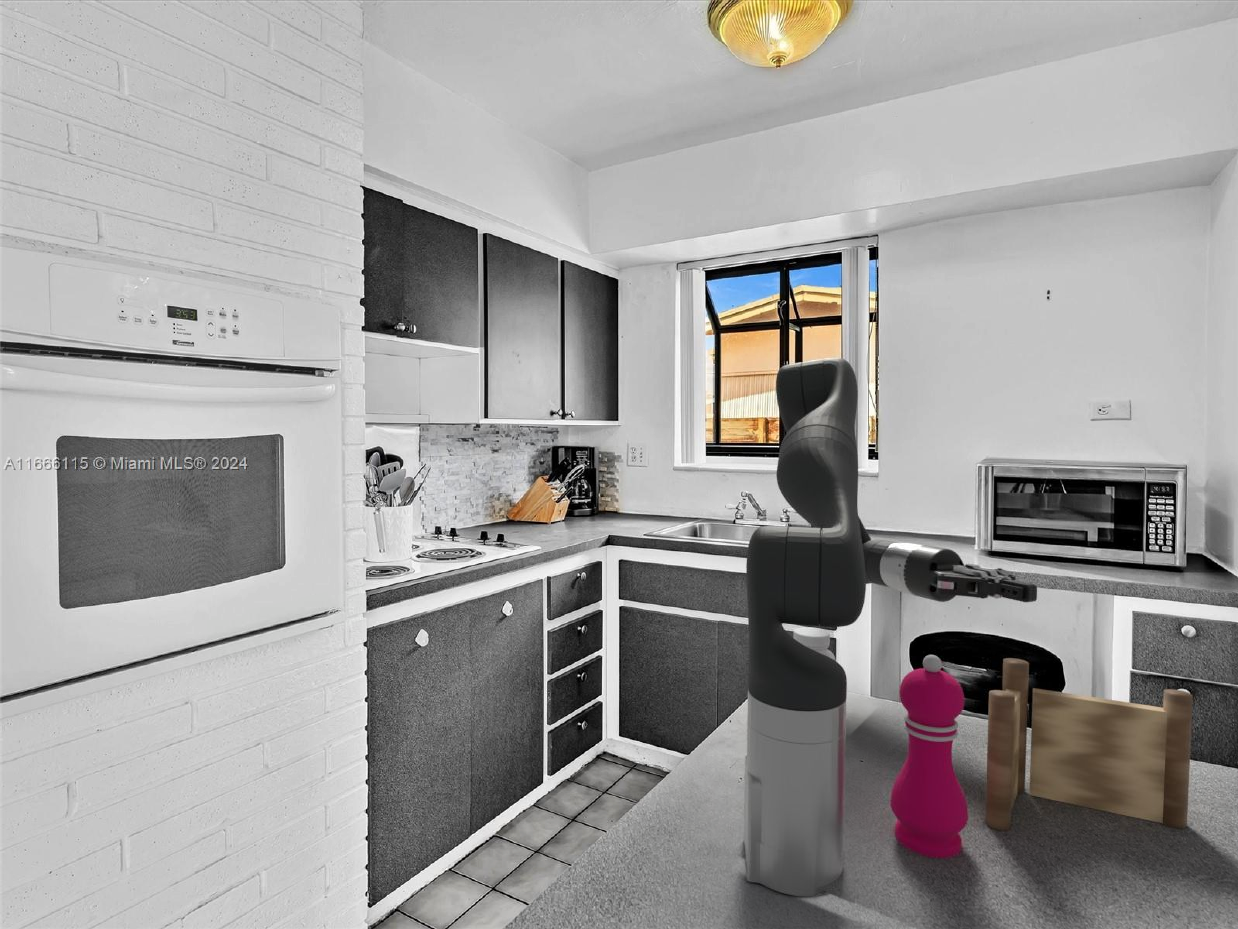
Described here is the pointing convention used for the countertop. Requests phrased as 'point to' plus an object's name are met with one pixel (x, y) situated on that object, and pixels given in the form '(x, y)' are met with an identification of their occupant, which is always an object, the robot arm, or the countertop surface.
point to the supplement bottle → (814, 639)
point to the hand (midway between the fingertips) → (1033, 593)
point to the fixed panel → (1006, 743)
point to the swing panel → (1113, 754)
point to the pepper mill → (930, 764)
